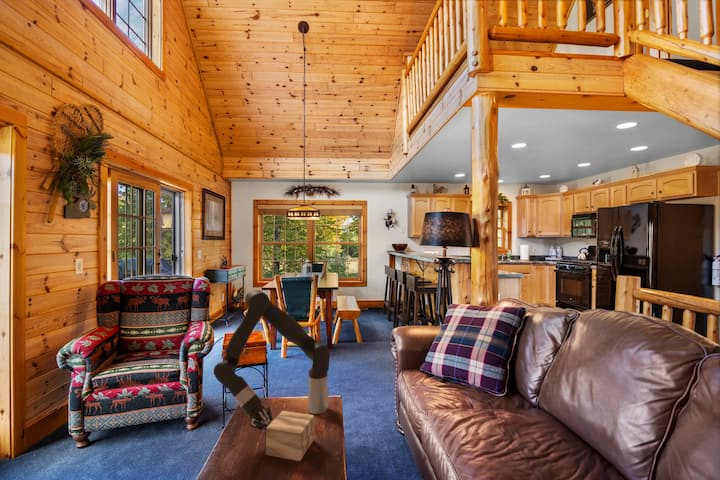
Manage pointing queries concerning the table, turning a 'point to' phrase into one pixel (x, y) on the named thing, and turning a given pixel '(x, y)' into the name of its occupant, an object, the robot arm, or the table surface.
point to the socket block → (289, 435)
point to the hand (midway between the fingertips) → (273, 433)
